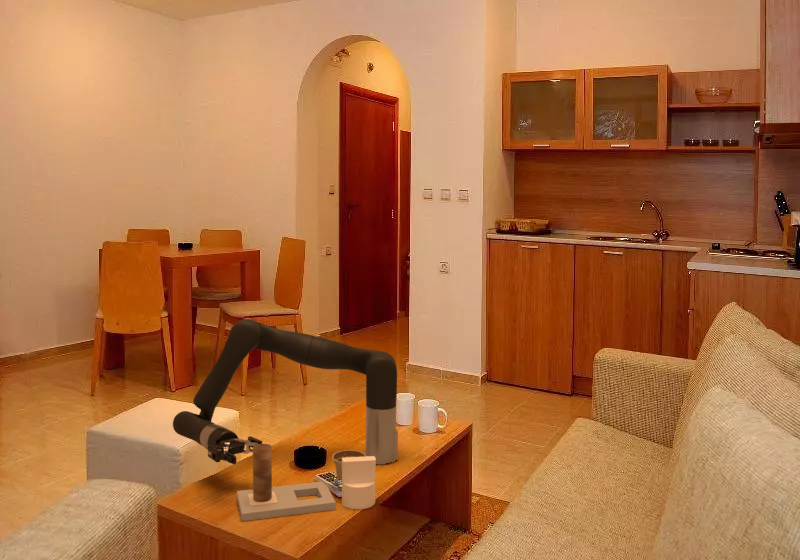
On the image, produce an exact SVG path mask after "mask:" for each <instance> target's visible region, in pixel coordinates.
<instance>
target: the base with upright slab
mask: <svg viewBox="0 0 800 560" xmlns="http://www.w3.org/2000/svg"><path fill="white" fill-rule="evenodd" d="M376 465H377V464H376V458H375V457H374V456H366V457H346V458H342V487H341V504H342V506H344V507H345V508H347V509H351V510H364V509H369V508H371V507H373V506H374V505H375V504H376V467H377V466H376Z"/></svg>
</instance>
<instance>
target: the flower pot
mask: <svg viewBox="0 0 800 560" xmlns="http://www.w3.org/2000/svg"><path fill="white" fill-rule="evenodd" d="M346 457H366V453H365V452H363V451H360V450H354V449H344V450H339V451H336V452H335V453H333V454H332V456H331V458H332V460H333V463H334V466H335V471H336V472H335V473H336V479H337V478H339V479H340V480H342V458H346Z"/></svg>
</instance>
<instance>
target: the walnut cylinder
mask: <svg viewBox="0 0 800 560" xmlns="http://www.w3.org/2000/svg"><path fill="white" fill-rule="evenodd" d="M272 447H273V446H272V444H270V443H262V444H257V445H255V446H253V448H252V449H253V453H252V489H253V500H254V501H257V502H266V501H269V500H271V498H272V487H273V485H272V483H273V478H272V476H273V475H272V473H273V471H272V469H273V466H272V465H273V464H272V463H273V462H272V461H273V456H272V455H273V454H272V453H273V452H272V451H273V448H272Z"/></svg>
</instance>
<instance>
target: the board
mask: <svg viewBox="0 0 800 560" xmlns="http://www.w3.org/2000/svg"><path fill="white" fill-rule="evenodd" d="M308 496H309V497H310V496H317V497H316V498H315V497H314V498H308V499H300V500H298V498H301V497H308ZM236 500H237V504H238V508H239V514H240V518H241V522H248V521H254V520H255V521H256V520H263V519H271V518H279V517H288V516H295V515H302V514H303V515H304V514H311V513H313V514H314V513H319V512H328V511H336V505H337V504H336V503H337V502H336V500H335V498H334V497H333V495H332V493H331V491H330V489H329V487H328V485H327V484H326V485H325V484H324V483H323V482H322V481H317V482H316V481H315V482H307V483H296V484H288V485H279V486H278V485H277V486H272V498H271V500H269V501H266V502H257V501H254V500H253V488H251V489H244V490H237V491H236Z"/></svg>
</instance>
